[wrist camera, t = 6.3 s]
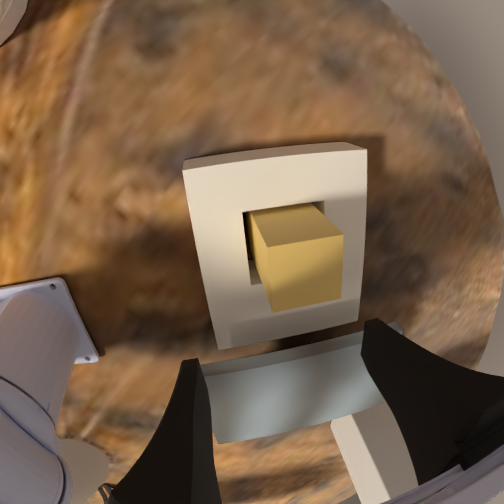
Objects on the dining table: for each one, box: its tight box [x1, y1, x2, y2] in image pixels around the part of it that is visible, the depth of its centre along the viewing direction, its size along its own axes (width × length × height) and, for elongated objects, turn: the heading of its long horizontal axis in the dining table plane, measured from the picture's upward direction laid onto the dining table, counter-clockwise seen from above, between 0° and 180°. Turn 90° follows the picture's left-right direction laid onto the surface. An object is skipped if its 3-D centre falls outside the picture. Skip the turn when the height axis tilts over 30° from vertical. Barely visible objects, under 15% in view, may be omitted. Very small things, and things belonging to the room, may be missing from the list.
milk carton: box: [331, 399, 433, 504], centre depth 24 cm, size 7×7×19 cm
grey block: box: [200, 321, 403, 444], centre depth 23 cm, size 13×9×7 cm
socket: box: [182, 142, 367, 350], centre depth 20 cm, size 10×12×3 cm
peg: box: [245, 202, 344, 313], centre depth 18 cm, size 4×4×7 cm
